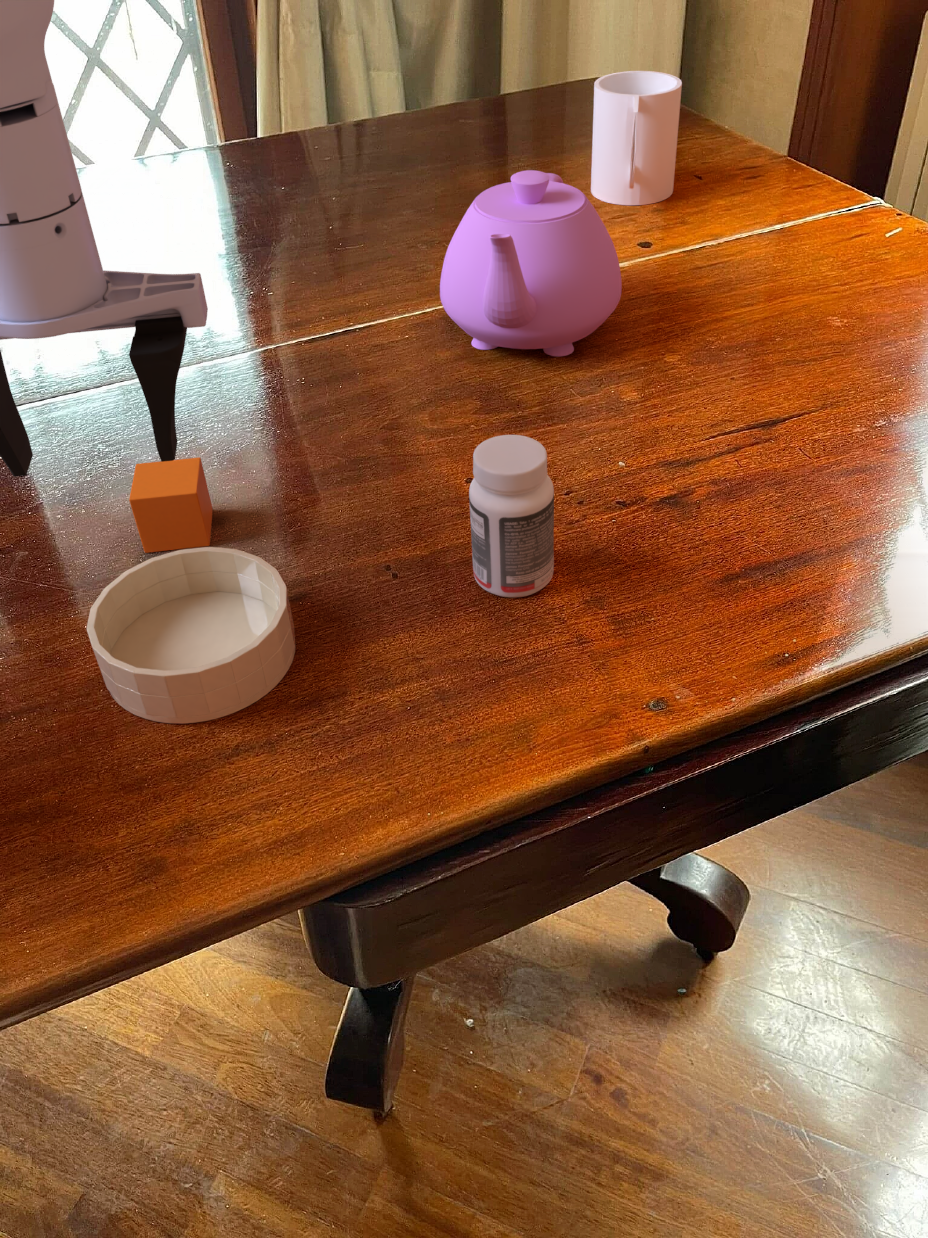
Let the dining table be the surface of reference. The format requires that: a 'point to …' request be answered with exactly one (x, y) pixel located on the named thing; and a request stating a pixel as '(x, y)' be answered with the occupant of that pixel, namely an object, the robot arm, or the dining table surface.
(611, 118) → the cup
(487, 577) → the pill bottle
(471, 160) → the dining table surface
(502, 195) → the teapot
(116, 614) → the bowl
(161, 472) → the block
